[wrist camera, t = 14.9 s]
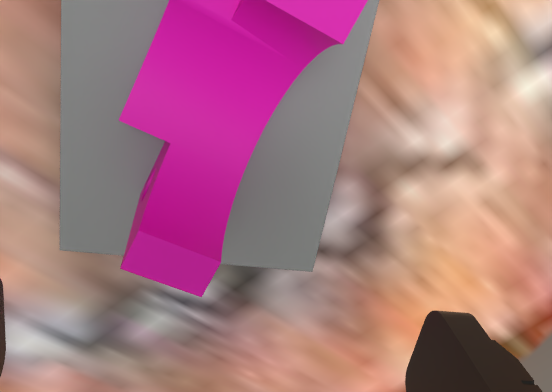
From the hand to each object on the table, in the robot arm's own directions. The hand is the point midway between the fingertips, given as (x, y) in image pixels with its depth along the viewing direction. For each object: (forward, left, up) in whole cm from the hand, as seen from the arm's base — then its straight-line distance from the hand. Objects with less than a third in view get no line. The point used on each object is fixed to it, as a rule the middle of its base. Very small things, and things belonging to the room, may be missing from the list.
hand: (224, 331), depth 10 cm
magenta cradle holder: (0, +1, -19) cm, 19 cm away
